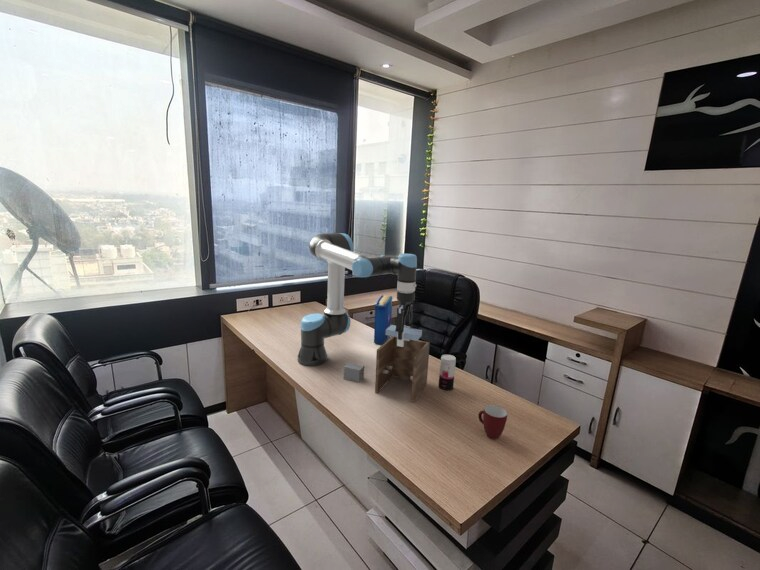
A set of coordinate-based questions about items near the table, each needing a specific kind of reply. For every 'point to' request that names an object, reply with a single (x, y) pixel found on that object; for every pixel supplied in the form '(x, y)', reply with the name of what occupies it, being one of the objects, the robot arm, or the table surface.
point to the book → (382, 318)
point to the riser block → (353, 372)
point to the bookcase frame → (403, 364)
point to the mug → (493, 420)
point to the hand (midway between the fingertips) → (403, 343)
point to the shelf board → (405, 332)
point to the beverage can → (447, 372)
